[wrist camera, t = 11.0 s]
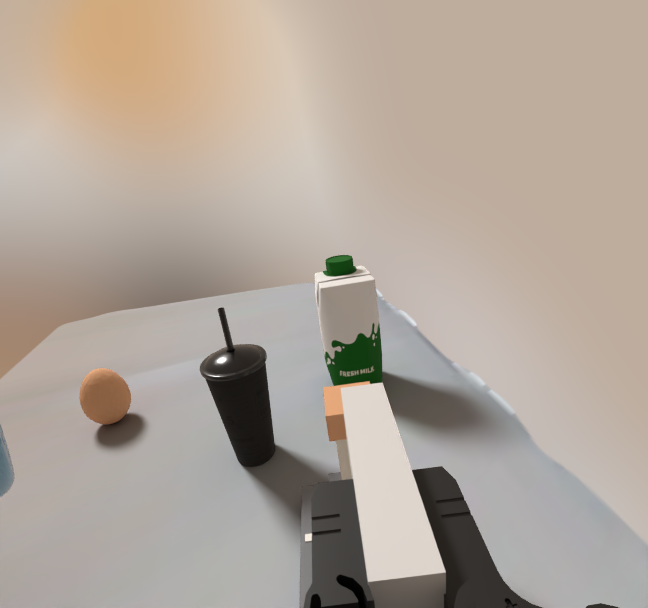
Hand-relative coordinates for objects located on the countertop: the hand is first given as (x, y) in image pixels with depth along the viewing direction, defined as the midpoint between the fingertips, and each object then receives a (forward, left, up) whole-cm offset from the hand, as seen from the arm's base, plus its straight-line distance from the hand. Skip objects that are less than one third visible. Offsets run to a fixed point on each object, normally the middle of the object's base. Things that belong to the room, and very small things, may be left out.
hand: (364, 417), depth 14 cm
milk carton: (-34, +22, -25) cm, 48 cm away
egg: (-52, -12, -25) cm, 59 cm away
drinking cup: (-30, +3, -25) cm, 40 cm away
